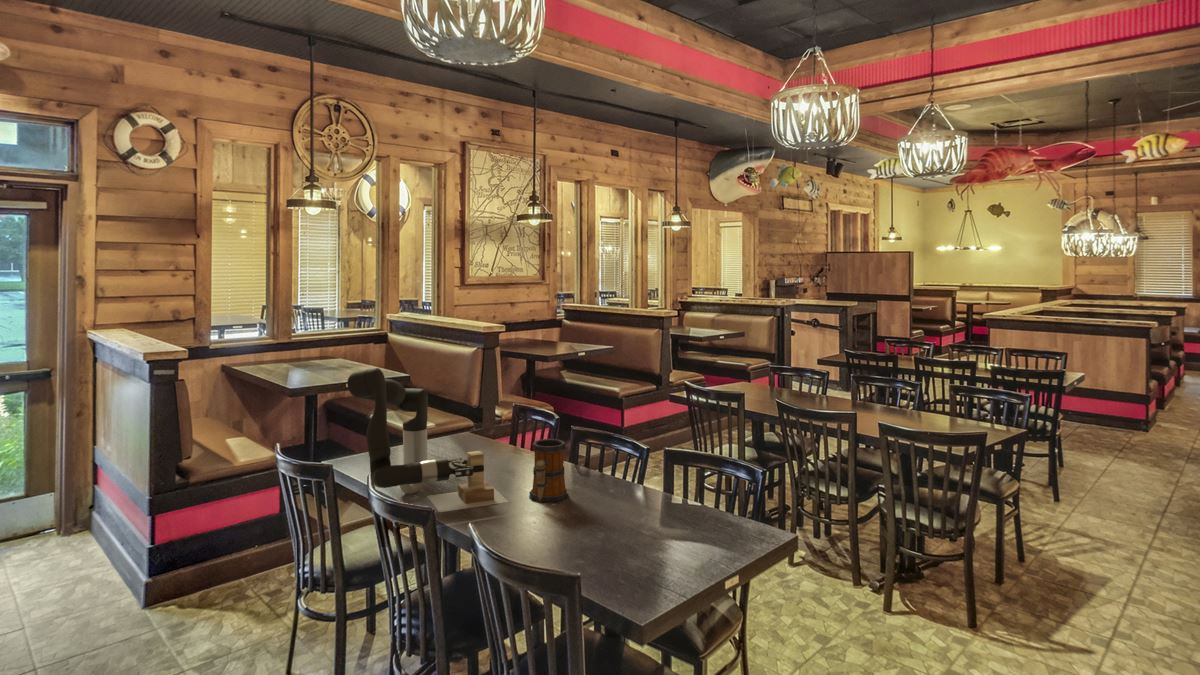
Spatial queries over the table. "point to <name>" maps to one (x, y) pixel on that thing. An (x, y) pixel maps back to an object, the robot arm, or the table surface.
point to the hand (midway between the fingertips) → (479, 464)
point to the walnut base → (475, 493)
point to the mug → (548, 472)
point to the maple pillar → (478, 477)
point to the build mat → (460, 501)
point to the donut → (411, 488)
